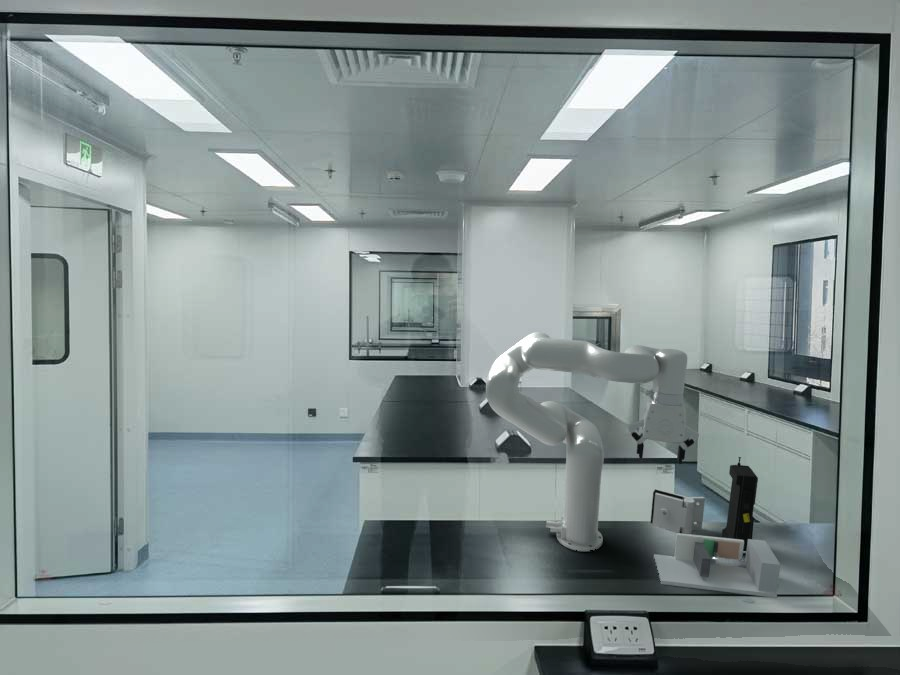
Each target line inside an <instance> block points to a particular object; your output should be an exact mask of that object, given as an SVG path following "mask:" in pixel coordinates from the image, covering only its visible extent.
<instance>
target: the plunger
mask: <svg viewBox="0 0 900 675" xmlns="http://www.w3.org/2000/svg"><path fill="white" fill-rule="evenodd" d="M717 551H718V542H714V549H713V556H709V554H708V552H707V549H706V547H705V545H704V543H700V542H695V549H694V558H693V560H694V562H695V565H696V568H697V570H698V573H699V575H700V576H701V577H709V571H710V565H719V566H728V567H737V568H746V560H745V559H743V558H742V559H733V558H724V557H719V555H718V553H717Z"/></svg>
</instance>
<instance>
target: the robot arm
mask: <svg viewBox="0 0 900 675" xmlns="http://www.w3.org/2000/svg"><path fill="white" fill-rule="evenodd" d="M687 366H688V355H687V353H686V352H684V351H682V350H679V349H674V348H673V349H672V348H654V347H650V346H645V345H639V344H638V345H632V346H629V347H628V348H627V349H625V351H624V352H619V351H613V350H608V349H604V348H601V347H600V346H597V345H596V344H594V343H591V342H589V341H586V340H579V339H577V340H575V339H564V338H552V337H550V336H549V334H547V333H545V332H542V331H537V332H532V333H529V334H527V336H525V337H524V338H523V339H520V341H518V342H517V343H516V344H515V345H513V346H511V347H510V348H509V349H508V350H507V351H505V352H504V353H503V354H501V355H499V357H497V358H496V359H495V360H494V362H492V364H491V367H490V369H489V372H488V375H487V376H486V377H487V378H486V383H485V395H486V400H487V403H488V404H489V406H490V408H491V409H492V411H494V412H495V414H497V415H498V416H499V417H501V418H502V419H504V420H506V421H507V422H509V423H511V424H513V425H514V426H516V427H517V428H519V429H521V430H522V431H523V432H525V433H527V434H528V435H530V436H532V437H533V438H535V439H536V440H538V441H539V442H541V443H543V444H545V445H547V446H558V445H560V444H562V443H563V444H565V445H566V446H565V447H566V448H565V449H566V457H565V459H566V460H565V472H564V473H565V474H564V491H563V492H564V496H563V508H562V509H563V511H562V513H563V514H562V515H563V516H561V520H557V521H553V520H548V519H547V520H546V522H545V523H546V525H545V528H550V533H556V538H557V541H558V542H559V544H560V545H563V546H564V547H565V548H567V549H569V550H572V551H576V550H577V551H576V552H591V551H590V550H593V551H596V550H598V549H599V548H600V547H602V545H603V543H604V541H603V540H604V538H603V535H602V533H601V532H600V531H599V530H598V528H599V515H600V514H599V513H600V501H601V483H602V472H603V465H604V459H605V452H604V444H603V441H602V438H601V434H600V431H599V429H598V428H597V426H596V425H595V424H594V423H593V422H592V421H590V420H588V419H586V418H585V417H584V416H582V415H581V414H578V413H577V412H575V411H573V410H572V409H570V408H569V407H567V406H565V405H564V404H562V403H559V402H558V401H557V402H556V401H552V400H548V401H543V402H540V403H539V402H537V401H536V400H534V399H533V398H531V397H529V396H527V395H524V394H522V393H521V392H520V391H519V388H518V387H519V384H520V379H521V378H522V377H523V376H525V375H526V374H527V373H529V372H530V371H532V370H533V369H535V370H541V371H551V372H565V373H574V374H575V373H576V374H583V375H585V376H589V377H592V378H593V377H594V378H598V379H602V380H606V381H611V382H616V383H627V384H639V385H640V384H643V385H644V384H647V383H650V382H652V387H651V389H650V390H646V391H645V397H649V399H648V400H647V403H646V407H645V409H644V414H643V418H642V419H641V420H638V421H635V422H633V423H629V424H627V425H628V430H629V432H630V434H631V437H632V438H633V439H634V441H635V442H636V445H637V446H636V454H637V455H638V457H639V459H643V455H644V447H645V446H644V442H645V441H647V440H648V441H649V440H650V441H654V442H664V443H672V444H678V447H677V449H678V450H677V455H676V456H677V457H676V460H677V463H678V464H679V465H681V464H682V460H683V461H684V460H685V457H686V456H685V455H686V450H688V448H689V447H691V446H692V445H694V443H695V442H696V441H697V439H699V436H700V434H699V432H698V431H696V430H694V428H691V427H689V426H688V425H686V424H687V412H686V411H687V410H686V409H687V408H686V404H685V403H684V402H683V400H684V399H683V398H684V392H685V391H684V390H685V383H686V382H685V381H686V376H687V375H686V373H687ZM638 428H641V430H642V431H641V433H640V434H638V432H636V429H638ZM686 433H687V434H689V436H690V437H688V438H687V439H686V440H685V438H686ZM595 549H596V550H595Z"/></svg>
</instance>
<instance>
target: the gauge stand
mask: <svg viewBox="0 0 900 675" xmlns="http://www.w3.org/2000/svg"><path fill="white" fill-rule="evenodd" d="M675 536H676V537H675V543H674V544H675V545H674V546H675V547H674V554H673V555H674V556H673V555H664V554H655V553H654V554H653V560H654V559H655V561H654V563H655V562H656V564H655V567H656V566H657V568H656V571H657V570H658V571H657V574H658V573H659V575H658V579H659V580H660V581H661V582H660V584H661V585H664V586H665V585H667V586H676V587H682V588H683V587H684V588H692V589H699V590H707V591H715V592H724V593H726V592H727V593H733V594H740V595H749V596H756V597H757V596H758V597H765V598H775V599H777V598H778V597H777V596H778V593H777V590H778V584H779V577H780V573H781V572H780V571H781V563H780V562H779V560H778V559H777V557H776V555H775V553H774V552H773V550H772V549H771V548H770V546H769V544H768V543H767V542H766V540H761V539H753V538H752V539H748V543H747V550H746V554H745V559H744V560H746V568H737V567H728V566H719V565H710V571H709V577H701V576H700V575H699V573H698V570H697V568H696V565H695V562H694V560H693V558H694V549H695V542H700V543H704V545H705V547H706V549H707V552H708V554H709V556H713V549H714V542H718V551H717V553H718V555H719V557H724V558H733V559H742V560H743V555H744V554H743V547H744V540H739V539H730V538H722V537H718V536H709V535H701V534H692V533H691V534H683V533H682V532H681V533H677V532H676V535H675Z"/></svg>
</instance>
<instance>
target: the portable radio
mask: <svg viewBox="0 0 900 675" xmlns="http://www.w3.org/2000/svg"><path fill="white" fill-rule="evenodd" d="M741 458H742V457H740V456H738V462H737V464H730V466H729V472H728V474H729V476H730V477H731V486H730V492H729V493H730V495H729V501H728V502H729V503H728V511H727V518H726V519H727V520H726V526H725V528H723V529H722V532H721V538H730V539H739V540H744V547H743V551H746V550H747V543H748V539H753V534H754V533H753V532H754V520H755V517H754V516H753V514H754V509H755V508H754V507H755V504H756V498H757V491H758V490H757V488H758V483H759V482H758V481H759V480H758V479H759V477H758V476H757V475H756V473H755V472H754V471H753V469H752V468H751V467H750V466H749V465H742V463H741Z"/></svg>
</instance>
